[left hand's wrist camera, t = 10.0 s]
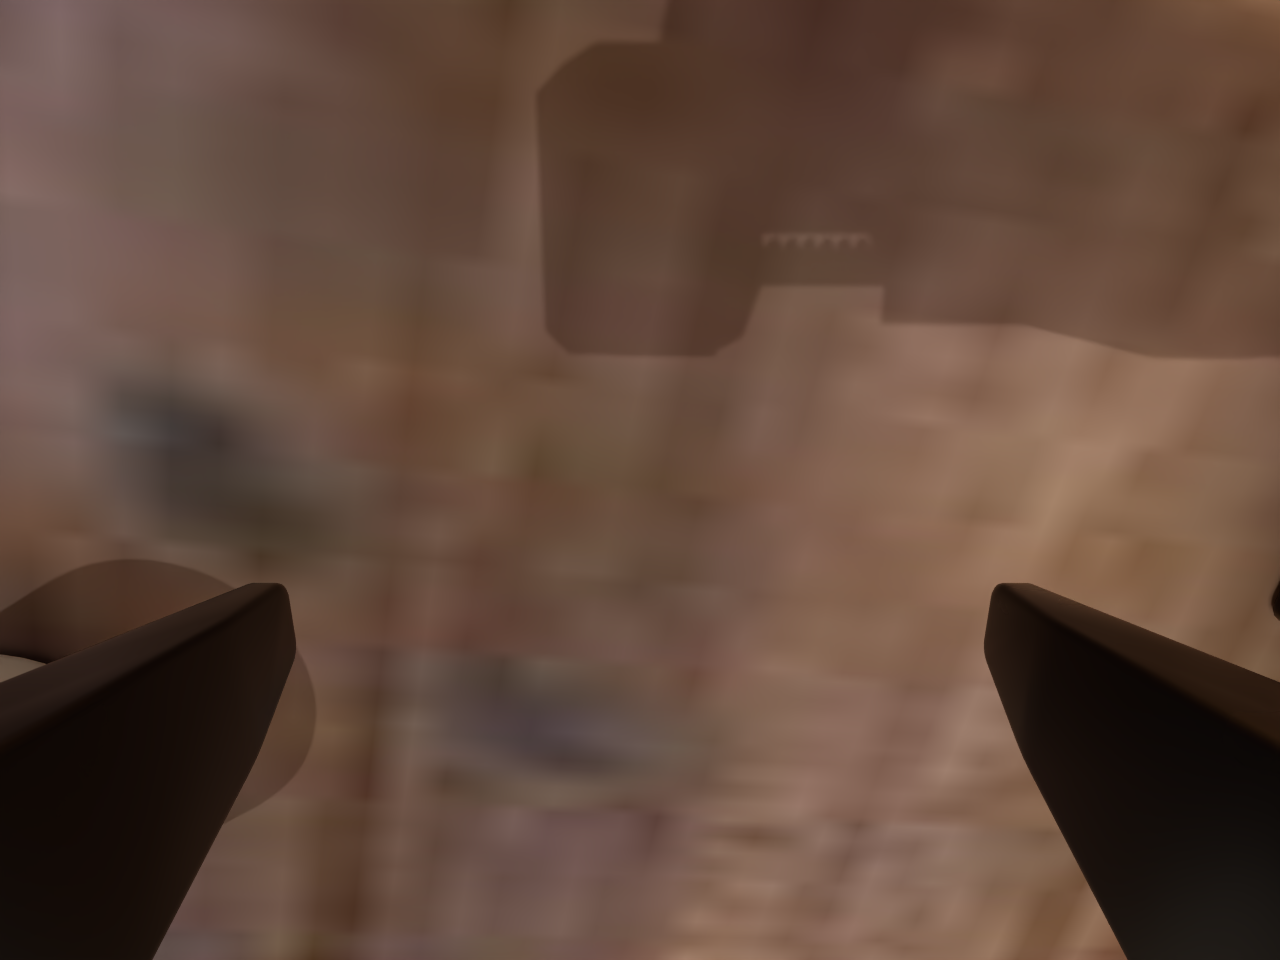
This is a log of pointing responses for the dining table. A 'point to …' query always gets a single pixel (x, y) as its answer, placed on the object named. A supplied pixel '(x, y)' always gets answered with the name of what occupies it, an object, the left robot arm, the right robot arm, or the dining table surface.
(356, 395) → the dining table surface
